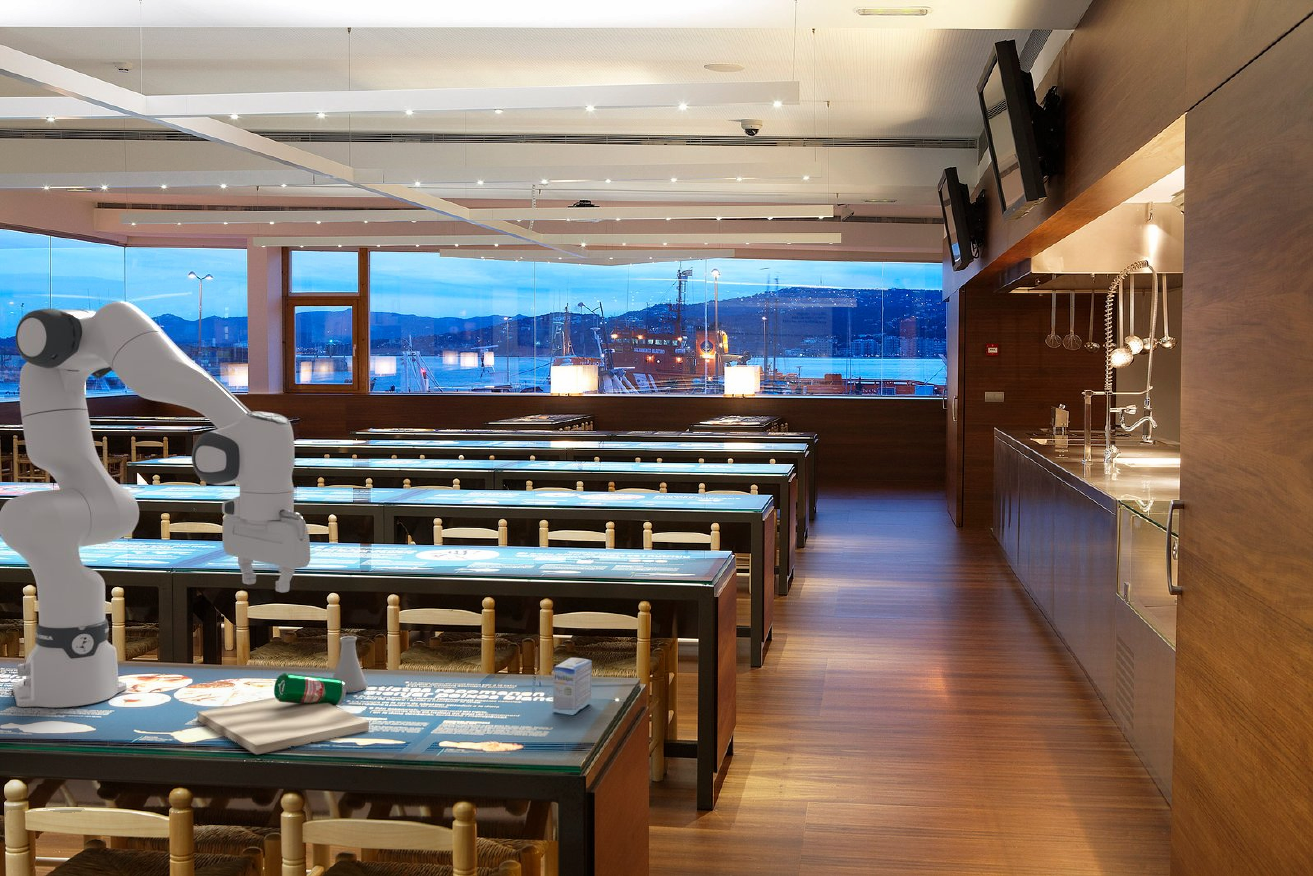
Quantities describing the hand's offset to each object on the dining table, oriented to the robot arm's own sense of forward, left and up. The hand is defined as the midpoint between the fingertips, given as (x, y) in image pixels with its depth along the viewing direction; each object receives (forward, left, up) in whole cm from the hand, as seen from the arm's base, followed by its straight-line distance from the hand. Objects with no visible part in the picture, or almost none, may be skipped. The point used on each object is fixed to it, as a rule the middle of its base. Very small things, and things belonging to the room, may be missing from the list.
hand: (265, 587), depth 203 cm
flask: (-13, +22, -25) cm, 36 cm away
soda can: (-4, +4, -19) cm, 20 cm away
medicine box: (+25, +47, -25) cm, 59 cm away
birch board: (+1, +2, -24) cm, 24 cm away
